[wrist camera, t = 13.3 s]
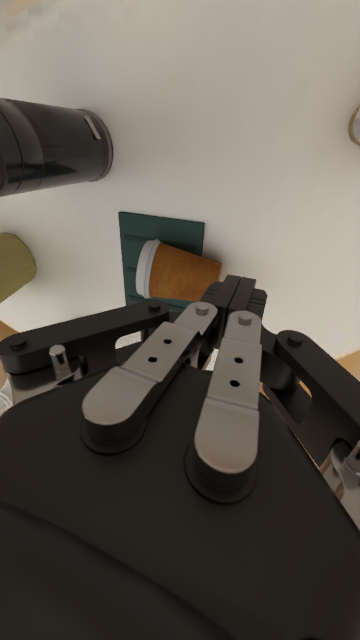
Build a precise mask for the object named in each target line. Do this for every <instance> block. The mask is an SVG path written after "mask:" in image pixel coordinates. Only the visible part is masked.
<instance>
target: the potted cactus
mask: <svg viewBox="0 0 360 640" xmlns="http://www.w3.org/2000/svg"><path fill="white" fill-rule="evenodd" d="M35 274H36V264H35V261H34V258H33V256H32V254H31V252H30V250H29V249H28V247H27V246H26V245H25V244H24V243H23V242H22V241H21V240H20V239H19V238H17V237H16V236H14V235H12V234H9V233H0V303H1V302H3V301H4V300H5V299H7V298H8V297H9V296H11V295H12V294H13V293H15V292H16V291H17V290H19V289H20V288H21V287H23V286H24V285H25V284H27V283H28V282H29V281H31V280H32V279H33V278H34V276H35Z"/></svg>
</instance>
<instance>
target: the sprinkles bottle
mask: <svg viewBox="0 0 360 640" xmlns="http://www.w3.org/2000/svg"><path fill="white" fill-rule="evenodd" d="M348 131H349V136H350V138H351V140H352V141H353V142H354V143H355V144H358V145H360V106H359V107H358V108H357V109H356V111H355V112H354V114H353V115H352V118H351V120H350V123H349V129H348Z"/></svg>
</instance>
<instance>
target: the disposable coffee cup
mask: <svg viewBox="0 0 360 640" xmlns="http://www.w3.org/2000/svg"><path fill="white" fill-rule="evenodd" d="M221 269H222V263H219V262H216V261H213V260H210V259H207V258H204V257H201V256H198V255H195V254H192V253H189V252H187V251H183V250H181V249H178V248H175V247H172V246H169V245H166V244H163V242H161V241H159V240H158V239H155V240H154V241H147V242H146V243H145V244H144V246H143V248H142V251H141V254H140V257H139V261H138V266H137V273H136V290H137V293H138V294H140V295H142V296H144V298H146V299H148V298H152V297H158V298H168V299H179V300H188V301H199V300H200V299H201V297H202V296H203V294H204V293H205V291H206V290H207V288H208V287H209V285H210V284H212V283H214V282H216V281H218V282H219V278H220V273H221Z"/></svg>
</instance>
